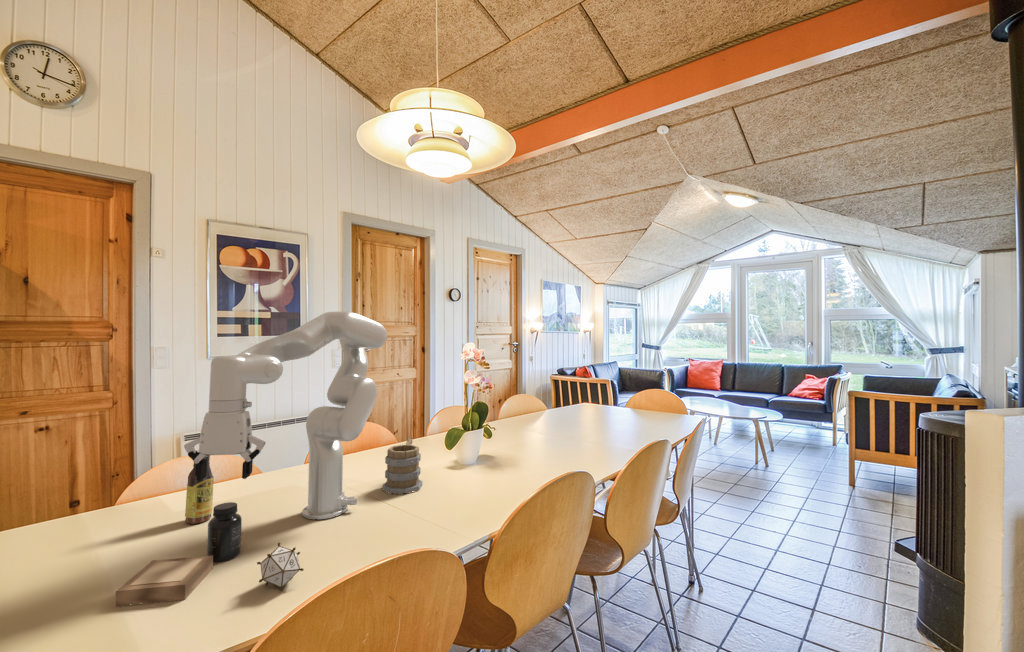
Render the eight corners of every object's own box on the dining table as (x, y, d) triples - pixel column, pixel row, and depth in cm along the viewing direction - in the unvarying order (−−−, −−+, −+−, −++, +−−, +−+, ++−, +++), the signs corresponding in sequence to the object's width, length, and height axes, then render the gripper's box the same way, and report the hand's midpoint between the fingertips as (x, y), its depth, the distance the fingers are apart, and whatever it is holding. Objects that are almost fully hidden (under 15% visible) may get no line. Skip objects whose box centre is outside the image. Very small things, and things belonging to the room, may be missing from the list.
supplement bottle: (236, 546, 110) (238, 498, 111) (244, 556, 106) (245, 506, 106) (204, 555, 106) (205, 505, 106) (210, 566, 101) (211, 513, 101)
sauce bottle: (197, 526, 122) (199, 454, 123) (179, 524, 123) (181, 452, 124) (217, 516, 128) (219, 448, 129) (200, 515, 130) (202, 447, 130)
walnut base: (212, 568, 100) (213, 554, 100) (184, 599, 88) (185, 583, 88) (152, 574, 97) (152, 559, 97) (115, 606, 86) (115, 590, 86)
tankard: (416, 494, 148) (417, 449, 148) (379, 494, 148) (380, 449, 148) (428, 476, 168) (429, 436, 168) (395, 475, 168) (396, 436, 168)
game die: (274, 600, 94) (271, 551, 100) (312, 584, 95) (308, 536, 100) (248, 600, 87) (246, 547, 92) (290, 583, 87) (286, 532, 93)
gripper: (271, 404, 112) (268, 472, 111) (195, 404, 108) (191, 475, 108) (260, 408, 105) (257, 481, 104) (178, 409, 101) (174, 484, 100)
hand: (224, 478), depth 106 cm, fingers open, 9 cm apart
